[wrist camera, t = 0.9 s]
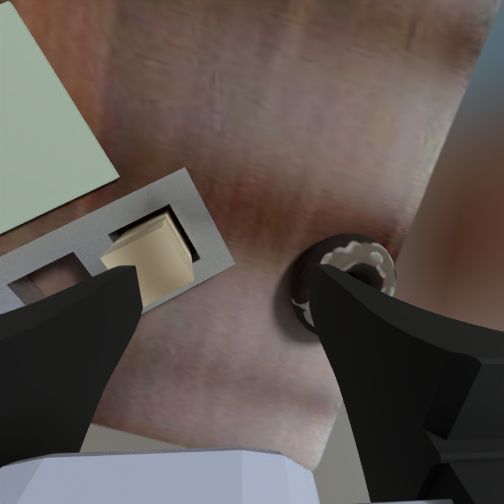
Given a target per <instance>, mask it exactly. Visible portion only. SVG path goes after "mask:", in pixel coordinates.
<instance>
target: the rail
mask: <svg viewBox="0 0 504 504" xmlns="http://www.w3.org/2000/svg"><path fill="white" fill-rule="evenodd" d="M168 204H170V206H171V207H172V209H173V211H174V213H175V214H176V216H177V218H178V220H179V221H180V223H181V225H182V227H183V228H184V230H185V232H186V234H187V235H188V237H189V239H190V241H191V242H192V244H193V246H194V248H195V249H196V251H197V252H196V253H194V254H192V255H191V258H192V266H193V273H194V281H192V282H190V283H189V284H187V285H185V286H183V287H181V288H179V289H177V290H175V291H174V292H172V293H170V294H168V295H166V296H164V297H162V298H160V299H159V300H157V301H155V302H153V303H151V304H149V305H147V306H145V307H144V308H143V311H142V314H143V313H145V312H147V311H148V310H150V309H152V308H154V307H156V306H158V305H160V304H162V303H163V302H165V301H167V300H169V299H171V298H173V297H175V296H177V295H178V294H180V293H182V292H184V291H186V290H188V289H190V288H191V287H193V286H195V285H197V284H199V283H201V282H203V281H205V280H206V279H208V278H210V277H212V276H214V275H216V274H218V273H219V272H221V271H223V270H225V269H227V268H229V267H231V266H233V265H234V264H235V262H234V260H233V258H232V256H231V255H230V253H229V251H228V249H227V247H226V245H225V243H224V241H223V239H222V237H221V235H220V233H219V232H218V230H217V228H216V226H215V224H214V222H213V220H212V218H211V216H210V214H209V212H208V210H207V209H206V207H205V205H204V203H203V201H202V199H201V197H200V195H199V193H198V191H197V189H196V188H195V186H194V184H193V182H192V180H191V178H190V176H189V174H188V172H187V170H186V168H185V167H184V168H182V169H180V170H178V171H176V172H174V173H172V174H170V175H168V176H166V177H164V178H162V179H160V180H158V181H156V182H154V183H151V184H149V185H147V186H145V187H143V188H141V189H139V190H137V191H135V192H133V193H131V194H129V195H127V196H125V197H123V198H121V199H118V200H116V201H114V202H112V203H110V204H108V205H106V206H104V207H102V208H100V209H98V210H96V211H94V212H92V213H90V214H88V215H85V216H83V217H81V218H79V219H77V220H75V221H73V222H71V223H69V224H67V225H65V226H63V227H61V228H59V229H57V230H54V231H52V232H50V233H48V234H46V235H44V236H42V237H40V238H38V239H36V240H34V241H32V242H30V243H28V244H26V245H24V246H21V247H19V248H17V249H15V250H13V251H11V252H9V253H7V254H5V255H3V256H1V257H0V314H3V313H6V312H9V311H12V310H15V309H17V308H20V307H23V306H26V305H29V304H31V303H34V302H37V301H39V300H42V299H44V298H46V297H45V296H44V294H43V293H42V292H41V291H40V290H39V289H38V288H37V286H36V285H35V284H34V283H33V282H32V281H31V280H30V278H29V277H28V276H27V274H29V273H31V272H33V271H35V270H37V269H39V268H41V267H43V266H45V265H47V264H49V263H51V262H53V261H55V260H57V259H59V258H61V257H63V256H65V255H67V254H69V253H71V252H74V253H75V255H76V256H77V257H78V259H79V260H80V261H81V263H82V264H83V265H84V266H85V268H86V269H87V270H88V272H89V273H90V274H91V276H92V277H93V276H95V275H98V274H100V273H102V272H104V271H106V270H108V269H107V267H106V266H105V265H104V263H103V262H102V260H101V259H100V258H101V257H102V256H103V254H104V253H105V252H106V251H107V250H108V249H109V248H110V247H111V246H112V245H113V244H114V243H115V242H116V241H117V240H118V239H119V238H120V237H121V236H120V235H119V233H118V232H117V230H118V229H120V228H122V227H124V226H126V225H128V224H130V223H132V222H134V221H136V220H138V219H140V218H142V217H144V216H146V215H148V214H150V213H152V212H154V211H156V210H158V209H160V208H162V207H164V206H166V205H168Z"/></svg>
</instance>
